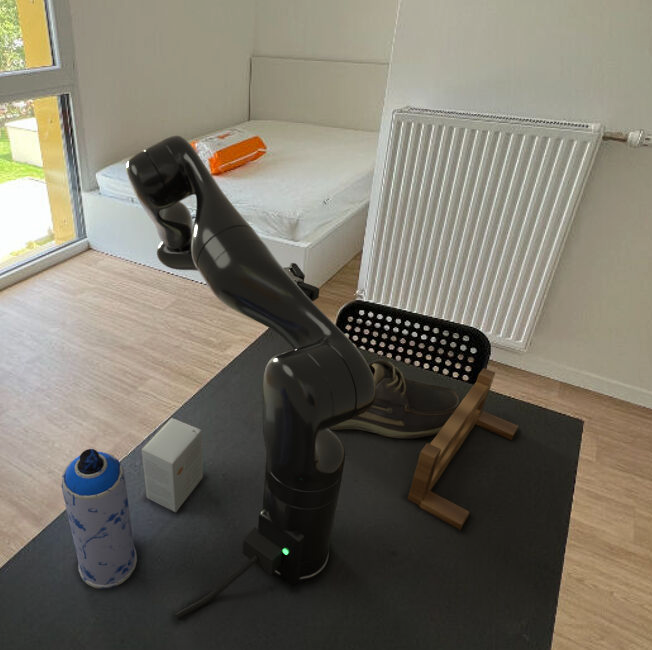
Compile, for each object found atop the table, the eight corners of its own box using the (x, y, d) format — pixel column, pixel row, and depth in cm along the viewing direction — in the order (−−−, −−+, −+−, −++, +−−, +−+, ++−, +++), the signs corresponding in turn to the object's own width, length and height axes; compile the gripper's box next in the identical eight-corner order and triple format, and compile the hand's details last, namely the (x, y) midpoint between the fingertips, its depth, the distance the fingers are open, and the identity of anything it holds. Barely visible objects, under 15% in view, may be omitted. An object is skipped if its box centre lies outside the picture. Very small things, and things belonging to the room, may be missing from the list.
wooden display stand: (460, 530, 76) (478, 481, 71) (406, 500, 81) (419, 452, 75) (516, 431, 93) (534, 386, 88) (469, 411, 98) (484, 367, 92)
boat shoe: (468, 441, 91) (485, 392, 85) (297, 440, 92) (302, 391, 86) (445, 400, 100) (459, 353, 95) (290, 399, 101) (294, 352, 95)
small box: (174, 464, 87) (171, 416, 82) (203, 478, 85) (202, 428, 79) (145, 498, 81) (139, 448, 76) (175, 514, 79) (172, 463, 73)
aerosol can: (94, 531, 76) (74, 426, 66) (145, 543, 75) (133, 438, 64) (67, 580, 70) (41, 473, 59) (123, 595, 68) (105, 488, 58)
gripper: (217, 260, 97) (297, 289, 87) (261, 238, 105) (338, 263, 96) (217, 296, 101) (294, 328, 91) (259, 272, 109) (333, 299, 100)
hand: (316, 295), depth 93 cm, fingers closed
